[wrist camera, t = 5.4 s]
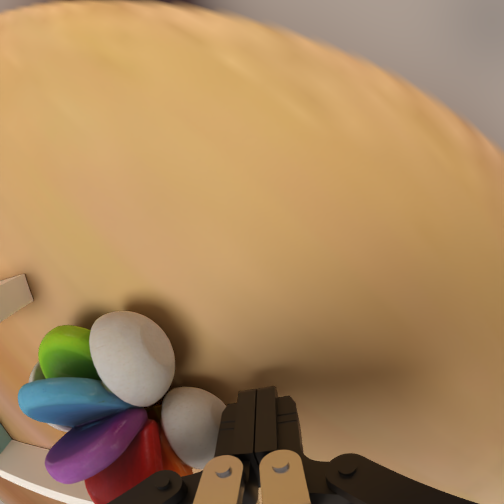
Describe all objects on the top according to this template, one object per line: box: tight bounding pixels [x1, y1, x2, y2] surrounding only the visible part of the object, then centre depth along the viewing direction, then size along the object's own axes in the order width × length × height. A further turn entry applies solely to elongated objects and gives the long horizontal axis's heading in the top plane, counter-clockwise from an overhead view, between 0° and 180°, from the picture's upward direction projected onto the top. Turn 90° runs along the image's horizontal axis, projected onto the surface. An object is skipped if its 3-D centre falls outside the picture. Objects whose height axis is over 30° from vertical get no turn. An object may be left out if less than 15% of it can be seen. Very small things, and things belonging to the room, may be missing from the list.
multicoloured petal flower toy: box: [18, 311, 226, 504], centre depth 10 cm, size 8×10×7 cm
